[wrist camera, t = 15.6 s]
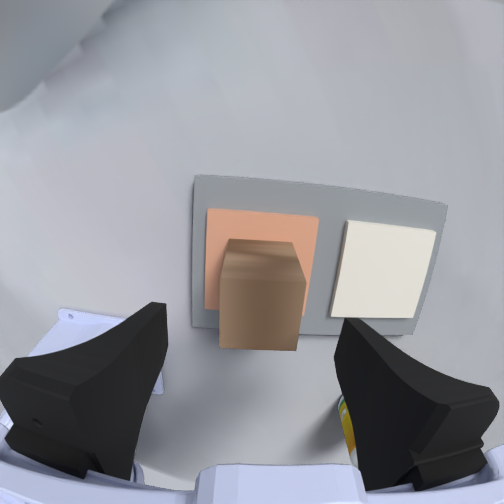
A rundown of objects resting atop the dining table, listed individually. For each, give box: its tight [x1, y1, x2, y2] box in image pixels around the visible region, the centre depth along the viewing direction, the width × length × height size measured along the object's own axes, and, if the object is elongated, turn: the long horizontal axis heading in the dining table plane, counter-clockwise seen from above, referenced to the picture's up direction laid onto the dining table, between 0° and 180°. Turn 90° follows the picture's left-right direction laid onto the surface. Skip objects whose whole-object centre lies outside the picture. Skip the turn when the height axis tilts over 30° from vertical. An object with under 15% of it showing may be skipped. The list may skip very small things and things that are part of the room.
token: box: [219, 239, 307, 351], centre depth 18 cm, size 4×4×6 cm
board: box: [192, 175, 448, 335], centre depth 22 cm, size 18×11×2 cm, turn 85°
